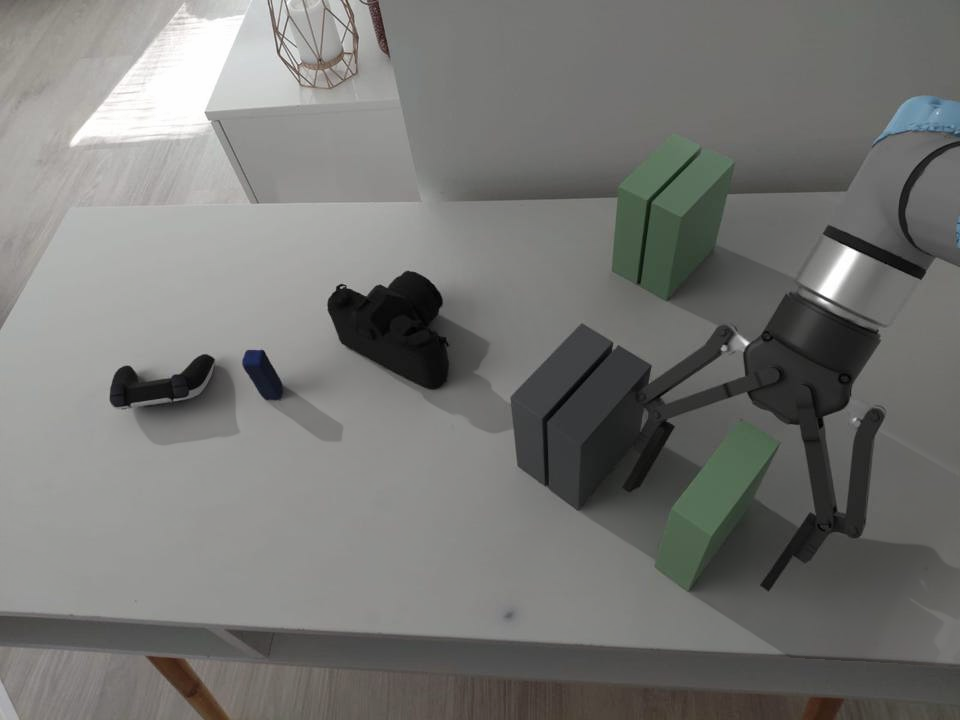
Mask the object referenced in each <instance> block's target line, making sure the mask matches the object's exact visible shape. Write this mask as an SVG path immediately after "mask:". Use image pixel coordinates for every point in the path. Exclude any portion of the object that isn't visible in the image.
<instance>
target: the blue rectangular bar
mask: <svg viewBox="0 0 960 720" xmlns="http://www.w3.org/2000/svg"><path fill="white" fill-rule="evenodd" d="M241 365H242V368H243V369H244V371H245V373H246V374H247V375H248V378H249V379H250V380H251V382H252V383H253V385H254V387H255V388H256V390H257V392H258V393H259V395H260V396H261V397H262V398H263V399H264V400H265V401H268V400H271V401H276V400H279V399H280V398H282V394H283V392H284V391H283V390H284V389H283V387H284V384H283V382H282V380H281V378H280V376H279V374H278V372H277V371H276V369H275V368H274V366H273V364H272V363H271V360H270V359H269V357H268V355H267V353H266V351H265V350H264V349H247V350H245V352H244V355H243V358H242V361H241Z"/></svg>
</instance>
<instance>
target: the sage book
mask: <svg viewBox="0 0 960 720" xmlns="http://www.w3.org/2000/svg"><path fill="white" fill-rule="evenodd" d="M781 444H782V443H781V442H780V441H779V440H777V439H775V438H773V437H772V436H770V435H769V434H767V433H765V432H764V431H762V430H760V429H759V428H757V427H756V426H754V425H753V424H751V423H749V422H747V421H746V420H744V419H742V418H741V419H739V421H738V422H737V423H736V424H735V426H734V427H733V428H732V430H731V431H730V432H729V433H728V435H727V437H726V438H725V439H724V440H723V442H722V443H721V444H720V445H719V447H717V449H716V451H715V452H714V453H713V454H712V455H711V457H710V458H709V459H708V460H707V462H706V463H705V465H704V466H703V467H702V468H701V470H700V471H699V472H698V474H697V475H696V476H695V477H694V479H692V481H691V482H690V484H689V485H688V486H687V487H686V489H684V491H683V493H682V494H681V495H680V497H679V498H678V499H677V500H676V502H675V503H674V504H673V505H672V506H671V509H670V512H669V516H668V518H667V522H666V526H665V529H664V531H663V532H664V533H663V536H662V540H661V542H660V546H659V549H658V553H657V556H656V559H655V562H654V566H653V567H654V568H655V570H658V571H659V572H660V573H662V574H663V575H664V576H666V577H667V578H668V579H670V580H671V581H672V582H674V583H675V584H676V585H678V586H679V587H680V588H682V589H683V590H685V591H686V592H689V591H690V589H692V587H693V586H694V584H695V583H696V581H697V580H698V579H699V577H700V576H701V574H702V573H703V572H704V570H705V569H706V568H707V566H708V565H709V564H710V562H711V561H712V559H713V558H714V556H715V555H716V554H717V552H718V551H719V550H720V548H721V547H722V545H723V544H724V543H725V542H726V540H727V539H728V537H729V536H730V535H731V533H732V532H733V531H734V529H735V527H736V526H737V525H738V524H739V522H740V521H741V520H742V518H743V517H744V516H745V514H746V512H747V511H748V510H749V508H750V505H751V503H752V502H753V499H754V497H755V496H756V494H757V491H758V490H759V487H760V486H761V483H762V482H763V479H764V477H765V476H766V474H767V471H768V469H769V467H770V465H771V463H772V462H773V460H774V458H775V456H776V454H777V452H778V450H779V447H780V445H781Z"/></svg>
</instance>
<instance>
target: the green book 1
mask: <svg viewBox="0 0 960 720" xmlns="http://www.w3.org/2000/svg"><path fill="white" fill-rule="evenodd" d="M702 148H703V146H702V145H700V144H698V143H695V142H693V141H691V140H689V139H686V138H684V137H682V136H679V135H678V134H675V133H673V134H671V135H670V136H669V138H667V139H666V140H665V141H664V142H663V143H662V144H661V145H660V146H659V147H658V148H657V149H656V150H654V152H653V153H652V154H650V155H649V157H647V158H646V159H645V160H644V161H643V162H642V163H641V164H640V165H639V166H638V167H637V168H636V169H635V170H634V171H633V172H631V174H629V176H627V177H626V178H625V179H624V181H622V182H621V183H620V184H619V185H618V188H617V199H616V201H617V202H616V211H615V215H616V216H615V224H614V235H613V248H612V259H611V261H612V262H611V271H612V272H614V273H616V274H617V275H618V276H620V277H623V278H624V279H626V280H628V281H630V282H632V283H633V284H635V285H637V284H638V283H639V282H641V278H642V271H643V263H644V256H645V249H646V241H647V234H648V226H649V219H650V211H651V204H652V202H653V201H654V200H655V199H656V198H657V197H658V196H659V195H660V194H661V193H662V192H663V191H664V190H665V189H666V188H667V187H668V186H669V185H670V184H671V183H672V182H673V181H674V180H675V179H676V178H677V177H678V176H679V175H680V174H681V173H682V172H683V171H684V170H685V169H686V168H687V167H688V166H689V165H690V164H691V163H692V162H693V161H694V160H695V159H696V158H697V157H698V156H699V155H700V154H701V153H702V152H701V151H702Z"/></svg>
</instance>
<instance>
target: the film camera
mask: <svg viewBox="0 0 960 720" xmlns="http://www.w3.org/2000/svg"><path fill="white" fill-rule="evenodd" d="M341 287H342V288H341ZM326 305H327V313H328V315H329V316H330V319H331V321H332V324H333V327H334V329H335V331H336V334H337V336H338V340H339V342H340V343H341V345H344V346H345V347H346V348H347V349H350V350H353V351H354V352H356V353H357V354H359V355H361V356H363V357H364V358H366V359H368V360H370V361H372V362H374V363H376V364H378V365H379V366H381V367H382V368H384V369H386V370H389V371H390V372H392V373H394V374H396V375H398V376H400V377H401V378H404V380H407V381H409V382H412V383H413V384H416V385H417V386H420V387H422V388H423V389H424V388H425V389H427V390H436V389H439V388H441V387H442V386H444V384H445V383H446V382H447V380H448V375H449V367H450V361H449V353H448V350H447V348H449V347H450V343H449V342H448V337H446V336H442V335H439V333H438V332H437V330H434V329H431V328H430V324H431V323H432V322H433V321H435V319H436V318H437V316H439V313H440V309H441V308H442V307H443V305H444V300H443V296H442V294H441V292H440V291H439V290H438V288H437V287H436V285H435V284H434V283H433V282H432V281H431V280H430V279H428V278H427V277H426V276H424V275H422V274H420V273H418V272H416V271H411V270H405V271H404V272H403V273H401V275H398V276H397V277H395V278H394V279H393V280H392V281H391V282H390V283H389V285H388V286H387V287H386V286H384V285H382V284H377V285H374V287H373V288H372V289H371V290H370V292H368V294H367V295H364V294H362V293H360V292H358V291H355V290H354V289H352V288H349V287H348V285H347V284H344V283H340V284H337V286H335V290H334V291H333V292H332V293H331V295H330V296H329V298H328V299H327V303H326Z"/></svg>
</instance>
